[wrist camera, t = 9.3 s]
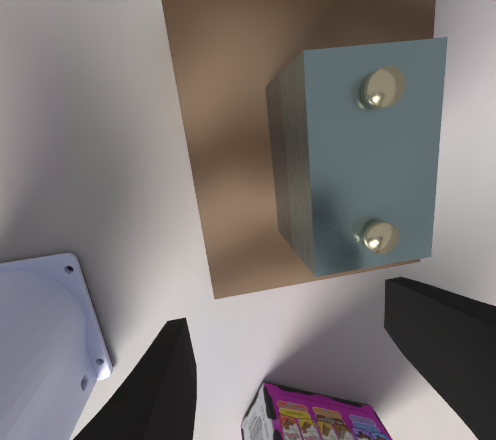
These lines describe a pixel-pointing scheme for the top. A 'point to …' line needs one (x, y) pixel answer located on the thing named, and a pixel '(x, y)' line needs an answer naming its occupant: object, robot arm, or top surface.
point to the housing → (358, 152)
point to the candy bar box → (308, 417)
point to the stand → (258, 115)
